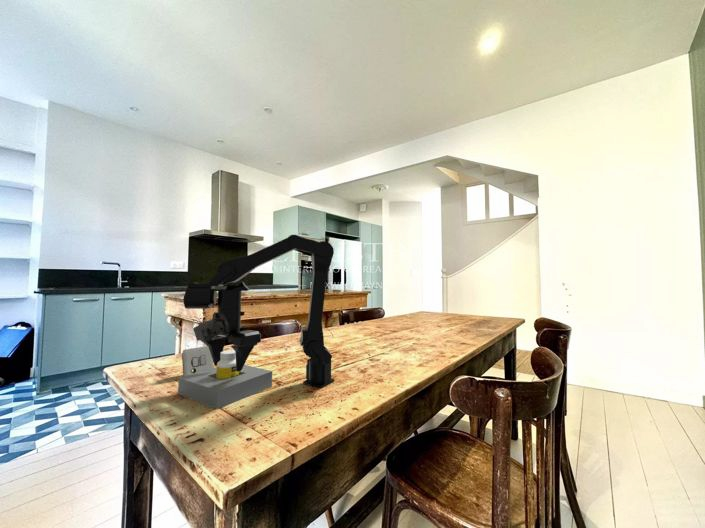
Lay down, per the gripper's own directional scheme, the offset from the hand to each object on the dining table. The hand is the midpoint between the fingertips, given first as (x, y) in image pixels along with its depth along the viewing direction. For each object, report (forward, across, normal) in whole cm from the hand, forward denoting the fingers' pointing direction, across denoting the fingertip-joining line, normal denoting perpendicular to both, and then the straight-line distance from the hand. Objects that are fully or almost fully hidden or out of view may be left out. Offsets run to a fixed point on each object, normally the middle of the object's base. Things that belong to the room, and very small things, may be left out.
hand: (227, 368), depth 73 cm
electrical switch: (+6, -19, +3) cm, 20 cm away
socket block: (+6, 0, 0) cm, 6 cm away
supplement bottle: (+6, 0, 0) cm, 6 cm away
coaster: (+6, +21, -4) cm, 22 cm away
